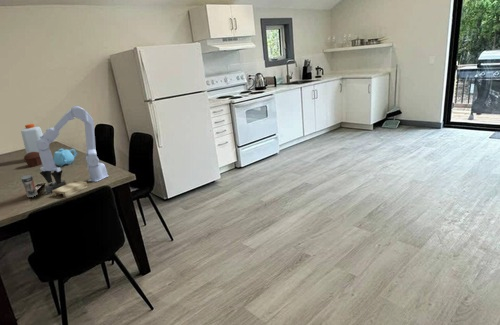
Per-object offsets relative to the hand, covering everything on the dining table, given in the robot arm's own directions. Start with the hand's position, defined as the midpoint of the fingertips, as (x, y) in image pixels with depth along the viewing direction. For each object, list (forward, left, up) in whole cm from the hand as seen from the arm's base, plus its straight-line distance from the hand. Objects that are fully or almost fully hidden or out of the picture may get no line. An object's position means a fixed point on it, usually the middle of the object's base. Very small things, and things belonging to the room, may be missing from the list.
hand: (54, 183), depth 180 cm
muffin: (-35, -72, -4) cm, 80 cm away
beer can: (+10, -6, -4) cm, 12 cm away
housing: (0, 0, -4) cm, 4 cm away
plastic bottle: (-50, -89, -4) cm, 102 cm away
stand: (0, +12, -4) cm, 13 cm away
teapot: (-39, -45, -4) cm, 60 cm away
